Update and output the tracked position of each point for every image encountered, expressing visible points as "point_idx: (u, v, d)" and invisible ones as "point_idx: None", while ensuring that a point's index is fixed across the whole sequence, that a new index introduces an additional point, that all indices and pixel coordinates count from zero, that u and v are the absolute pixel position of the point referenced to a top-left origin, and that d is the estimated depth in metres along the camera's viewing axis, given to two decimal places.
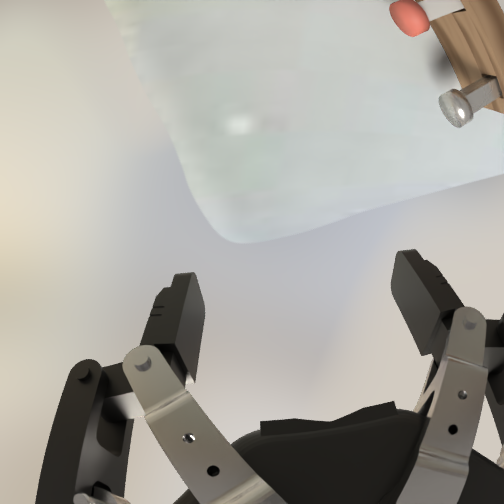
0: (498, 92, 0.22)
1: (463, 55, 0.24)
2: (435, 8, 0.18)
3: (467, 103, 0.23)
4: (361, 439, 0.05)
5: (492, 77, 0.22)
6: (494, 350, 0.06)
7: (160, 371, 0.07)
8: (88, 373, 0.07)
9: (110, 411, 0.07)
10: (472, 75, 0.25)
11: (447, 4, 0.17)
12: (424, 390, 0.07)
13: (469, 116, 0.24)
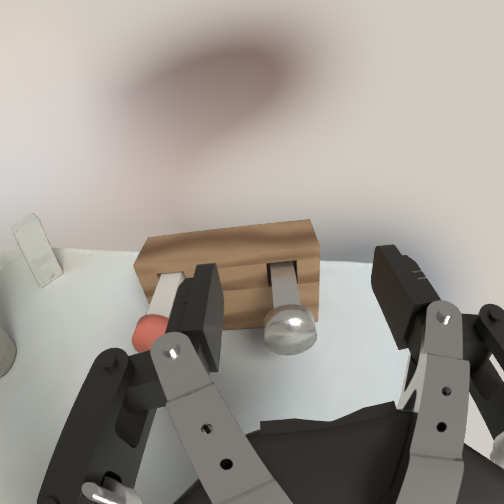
0: (288, 266, 0.30)
1: (248, 303, 0.34)
2: (161, 303, 0.28)
3: (279, 309, 0.24)
4: (361, 439, 0.05)
5: None
6: (471, 345, 0.07)
7: (188, 359, 0.07)
8: (114, 362, 0.07)
9: (132, 401, 0.07)
10: None
11: (167, 288, 0.30)
12: (404, 387, 0.07)
13: (298, 311, 0.24)
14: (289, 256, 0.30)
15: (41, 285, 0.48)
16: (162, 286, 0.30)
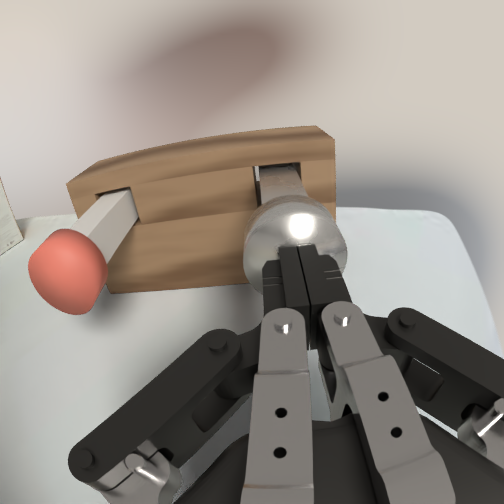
0: (286, 170, 0.19)
1: (227, 240, 0.22)
2: (86, 223, 0.16)
3: (272, 202, 0.13)
4: (361, 439, 0.05)
5: None
6: None
7: (295, 340, 0.07)
8: (223, 347, 0.07)
9: (224, 388, 0.08)
10: None
11: (101, 207, 0.18)
12: (330, 398, 0.08)
13: (309, 203, 0.12)
14: (288, 154, 0.19)
15: None
16: (97, 206, 0.18)
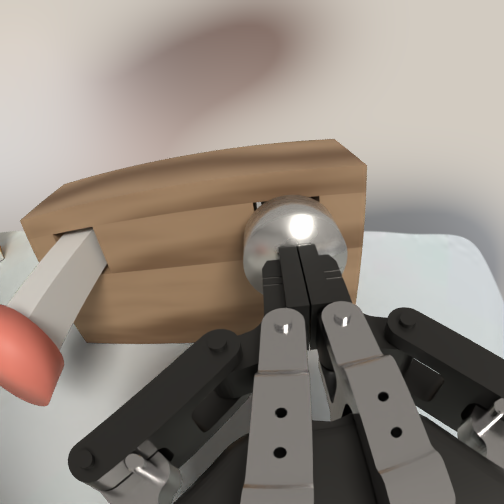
0: None
1: (220, 293, 0.17)
2: (35, 285, 0.11)
3: (272, 202, 0.13)
4: (361, 439, 0.05)
5: None
6: None
7: (295, 340, 0.07)
8: (223, 347, 0.07)
9: (224, 388, 0.08)
10: None
11: (56, 258, 0.13)
12: (330, 398, 0.08)
13: (309, 203, 0.12)
14: (303, 186, 0.14)
15: None
16: (53, 254, 0.13)
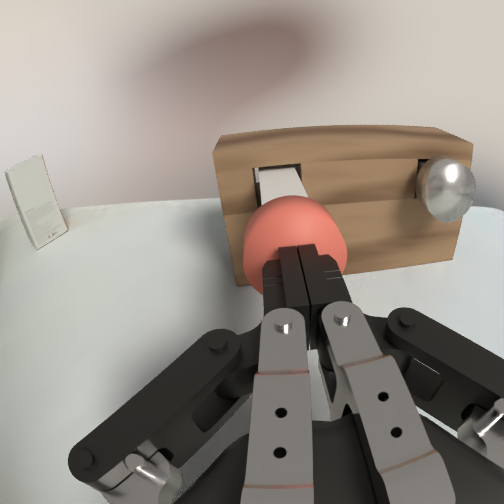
0: None
1: (383, 226, 0.21)
2: (285, 194, 0.15)
3: (437, 157, 0.17)
4: (361, 439, 0.05)
5: None
6: None
7: (295, 340, 0.07)
8: (223, 347, 0.07)
9: (224, 388, 0.08)
10: (416, 223, 0.21)
11: (282, 180, 0.17)
12: (330, 398, 0.08)
13: None
14: (444, 152, 0.18)
15: (37, 246, 0.36)
16: (271, 179, 0.18)
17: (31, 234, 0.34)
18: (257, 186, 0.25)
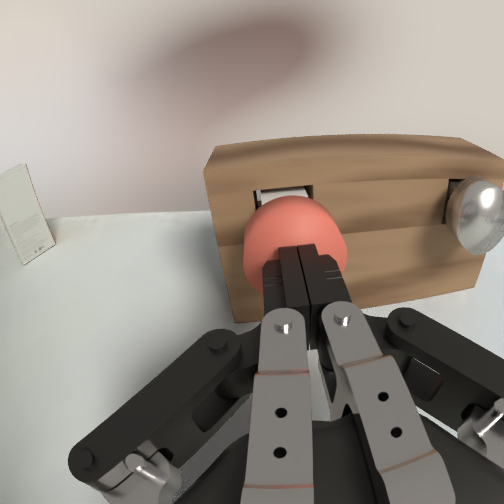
0: None
1: (405, 256, 0.18)
2: (285, 194, 0.15)
3: (471, 179, 0.13)
4: (361, 439, 0.05)
5: None
6: None
7: (295, 340, 0.07)
8: (223, 347, 0.07)
9: (224, 388, 0.08)
10: (441, 252, 0.17)
11: None
12: (330, 398, 0.08)
13: (491, 182, 0.13)
14: (476, 170, 0.14)
15: (24, 261, 0.32)
16: None
17: (16, 249, 0.31)
18: (258, 206, 0.21)
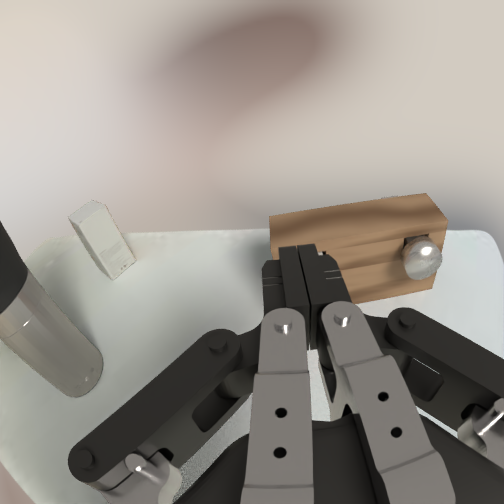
0: None
1: (379, 277, 0.32)
2: None
3: (416, 240, 0.27)
4: (361, 439, 0.05)
5: None
6: None
7: (295, 340, 0.07)
8: (223, 347, 0.07)
9: (224, 388, 0.08)
10: (403, 272, 0.32)
11: None
12: (330, 398, 0.08)
13: (429, 241, 0.27)
14: (424, 230, 0.28)
15: (113, 277, 0.51)
16: None
17: (106, 269, 0.49)
18: None
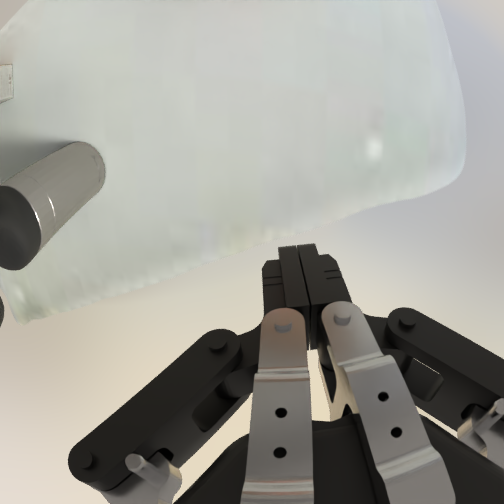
0: None
1: None
2: None
3: None
4: (361, 439, 0.05)
5: None
6: None
7: (295, 340, 0.07)
8: (223, 346, 0.07)
9: (224, 388, 0.08)
10: None
11: None
12: (330, 398, 0.08)
13: None
14: None
15: (11, 95, 0.29)
16: None
17: (3, 98, 0.28)
18: None
